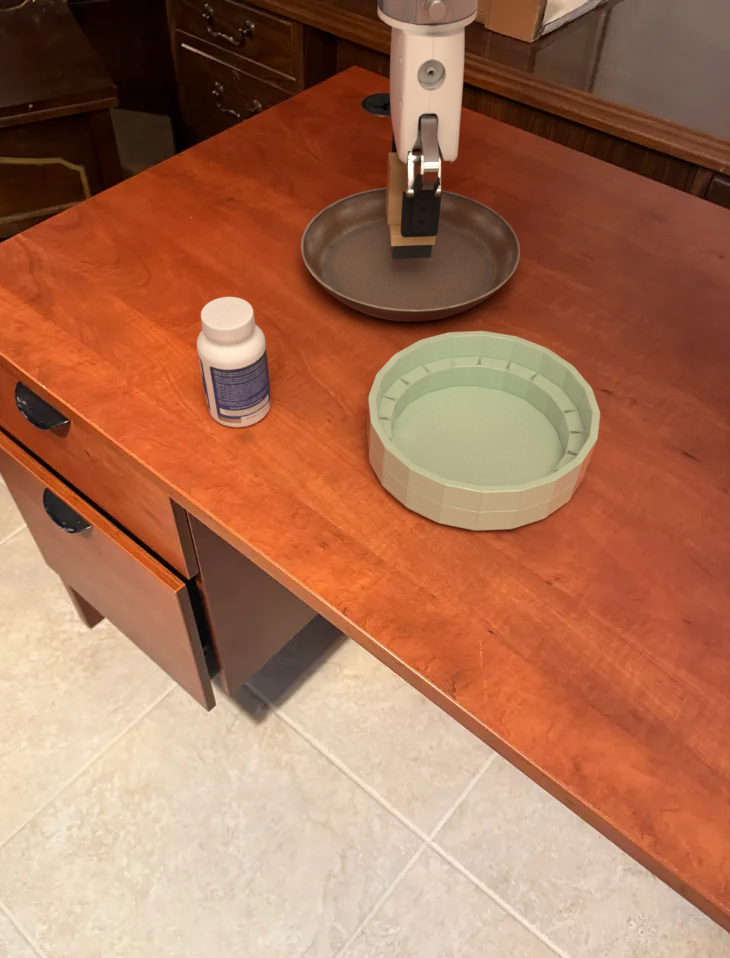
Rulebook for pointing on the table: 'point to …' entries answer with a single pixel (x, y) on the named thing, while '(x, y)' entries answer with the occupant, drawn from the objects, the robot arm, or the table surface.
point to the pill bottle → (233, 363)
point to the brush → (394, 194)
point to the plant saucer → (416, 279)
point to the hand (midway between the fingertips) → (412, 204)
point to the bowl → (480, 429)
